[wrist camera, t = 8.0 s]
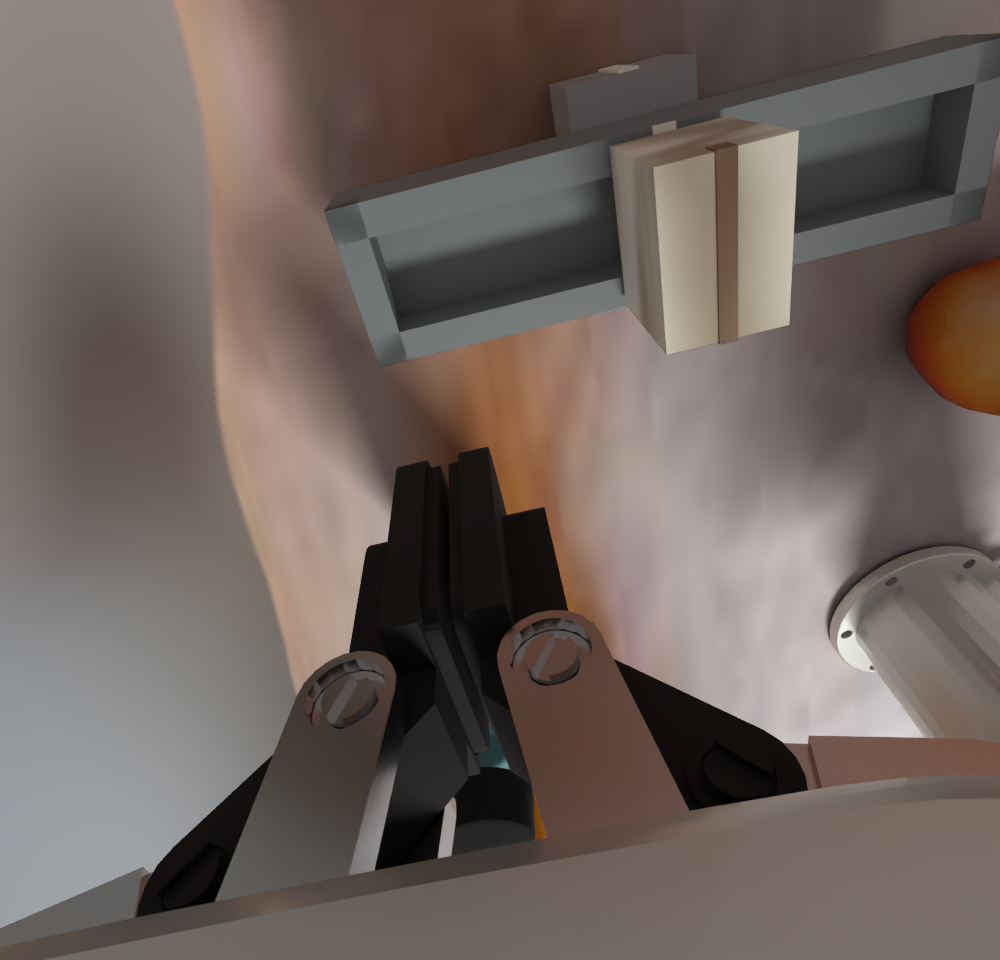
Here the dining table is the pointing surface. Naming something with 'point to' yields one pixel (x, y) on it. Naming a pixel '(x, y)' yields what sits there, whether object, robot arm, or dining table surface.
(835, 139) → the beam
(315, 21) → the dining table surface
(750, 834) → the robot arm
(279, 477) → the dining table surface
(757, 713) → the dining table surface
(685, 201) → the rider
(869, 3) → the dining table surface
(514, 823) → the beverage bottle
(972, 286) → the fruit
